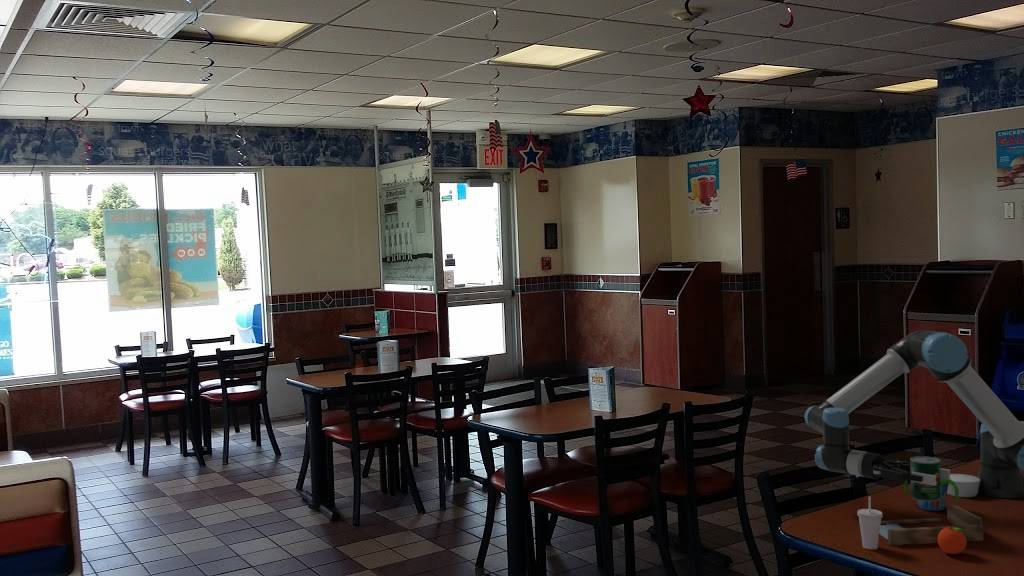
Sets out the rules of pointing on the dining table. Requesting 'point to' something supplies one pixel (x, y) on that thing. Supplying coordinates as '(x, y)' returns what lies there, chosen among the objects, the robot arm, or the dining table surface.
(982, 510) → the dining table surface
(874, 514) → the smoothie
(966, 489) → the ramekin
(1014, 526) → the dining table surface
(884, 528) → the front pad
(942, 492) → the snack cup
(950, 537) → the clementine
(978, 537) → the bay
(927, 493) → the canned tomato
